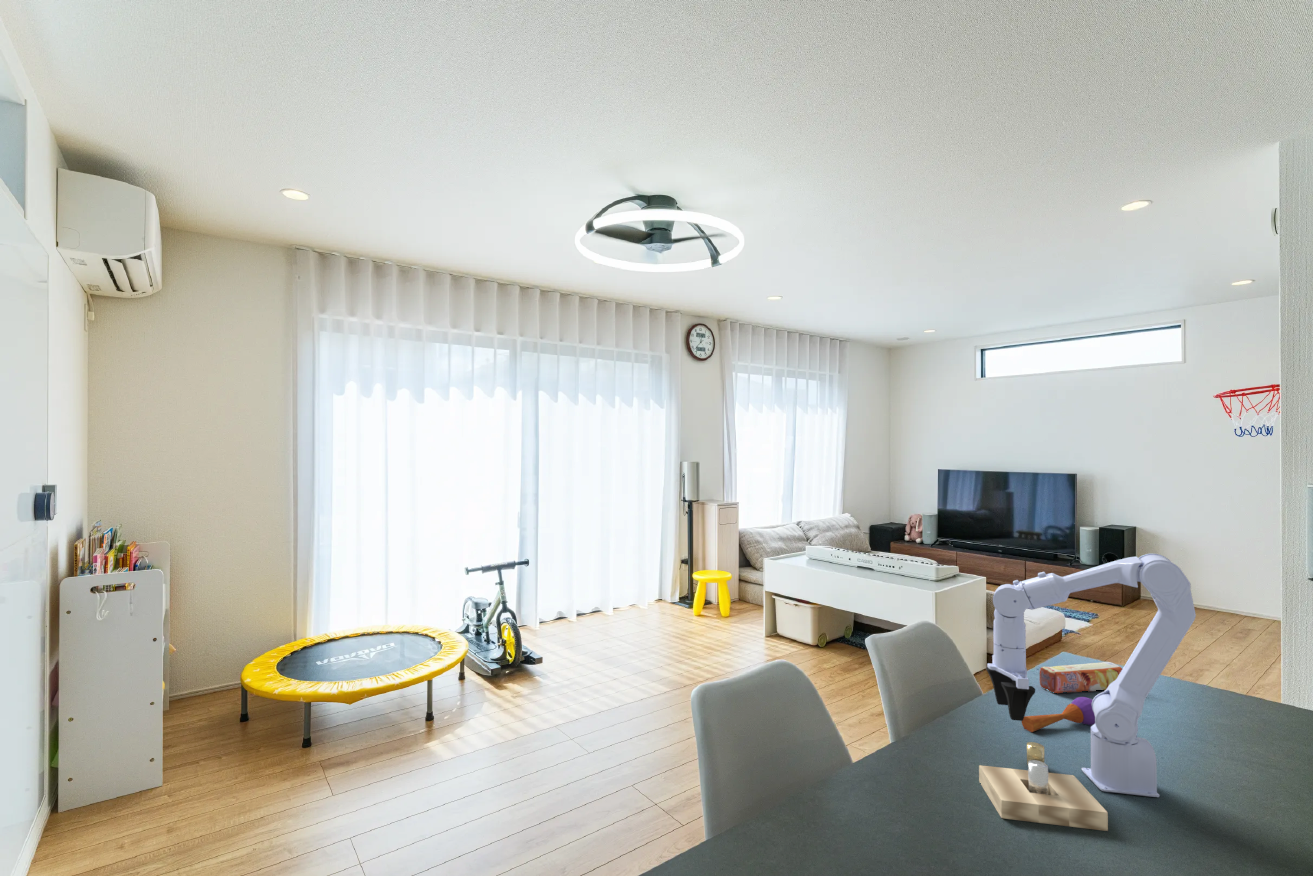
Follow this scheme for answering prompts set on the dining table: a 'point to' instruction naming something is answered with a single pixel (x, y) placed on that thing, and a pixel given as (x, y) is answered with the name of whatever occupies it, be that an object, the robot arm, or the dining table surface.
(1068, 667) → the snack package
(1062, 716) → the maraca
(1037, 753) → the short pin
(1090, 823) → the hole block
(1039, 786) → the long pin
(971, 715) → the dining table surface
